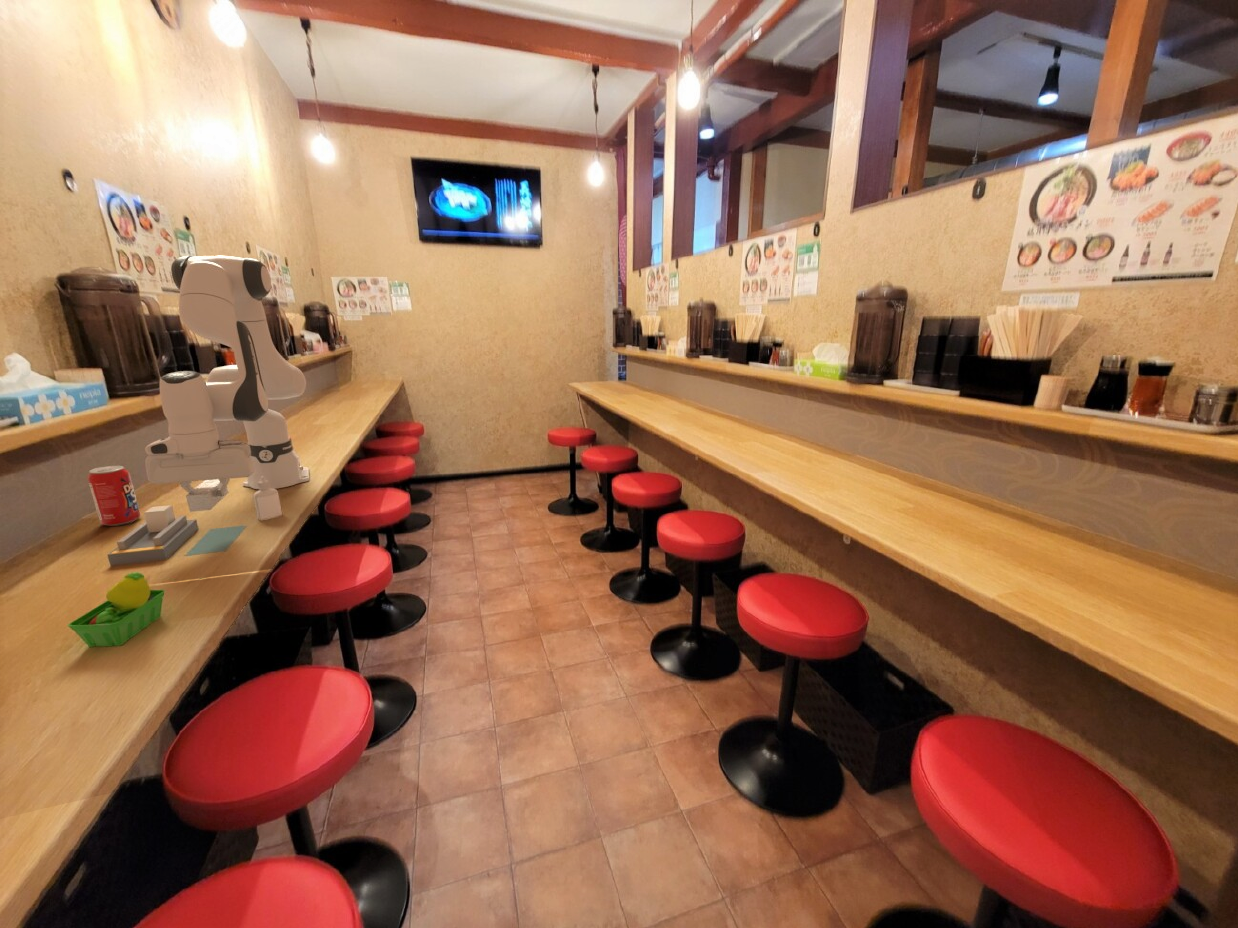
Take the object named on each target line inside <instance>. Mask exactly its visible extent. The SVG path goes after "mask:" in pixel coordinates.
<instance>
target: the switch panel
mask: <svg viewBox="0 0 1238 928" xmlns="http://www.w3.org/2000/svg"><path fill="white" fill-rule="evenodd" d="M197 531H199V524H198V520H197V519H196V518H195V519H187V516H186V515H179V516H178V517H177V518H175V520H174V521H173V522H172V523H171V524H170V525H168V526H167V527H166V528H165V529H163V530H162V531H160V532H150V533H149V531H148V527H147V524H146V520H145V521H143V522H142V523H141V524H139V525H138V526H137V527H135V528H134V529H132V530H131V531H130V532H129V533H126V535H125V536H123V537H122V538H121V539H118V541H117V542H116V543H117V547H116V548H115V549H113V550H112V551H111V552H109V553H107V559H108V561H109V565H110V567H114V566H124V565H133V564H140V563H149V562H157V561H166V560H168V559H169V558H170V557H171V556H172V555H174V553H175V552H177V550H179V548H181V546H182V545H183V544H185V542H186V541H188V540H189V539H190V538H191V537H192V536H193V535H194V534H195V533H196V532H197Z"/></svg>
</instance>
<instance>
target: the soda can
mask: <svg viewBox="0 0 1238 928" xmlns="http://www.w3.org/2000/svg"><path fill="white" fill-rule="evenodd" d="M88 472H89V475H88V476H87V482H88V486H89V488H90V493H91V496H92V499H93V501H94V502H93V503H94V506H95V509H96V513H97V516H98V518H99V522H100V524H101V525H104V526H109V527H119V526H124V525H128V524H131V523H134V522H135V521H137V520H138V519H140V517H142V516H141V511H140V507H139V504H138V500H137V499H138V498H137V497H136V493H135V488H134V484H133V481H132V476H131V473H130V471H129V470H127V469H126V468H125V466H122V465H108V466H101V467H96V468H93V469H91V470H89V471H88Z"/></svg>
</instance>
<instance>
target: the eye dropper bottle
mask: <svg viewBox="0 0 1238 928" xmlns="http://www.w3.org/2000/svg"><path fill="white" fill-rule="evenodd" d="M258 485H259V489H258V490H256V491H255V492H254V493H253V495H252V497H253V502H254V506H255V509H254V510H255V513H256V518H257V520H259V521H267V520H272V519H275V518H278V517H281V516H283V512H282V507H281V506H282V505H281V501H280V494H279V491H278V490H277V488H276V489H273V488H270V485H269V481H268V480H265V478H264V477H261V481H259V482H258Z"/></svg>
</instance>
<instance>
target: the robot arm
mask: <svg viewBox="0 0 1238 928" xmlns="http://www.w3.org/2000/svg"><path fill="white" fill-rule="evenodd" d="M171 263H172V264H171V266H170V267H171V268H170V269H171V270H170V272H171V276H172V280H173V283H174V285H175V286H176V289H178V290H179V297H178V298H179V299H178V313H179V317H180V320H181V322H182V323H183V325H184V326H185V327H186V328H187V329H188V330H189V331H191V332H192V333H193V334H195V335H197V336H199V337H201V338H203V339H205V340H208V341H210V342H211V341H212V342H214V343H217V344H221V345H224V346H227V347H229V348H231V349H232V350H233V354H234V358H235V362H236V364H229V365H224V366H218V367H217V366H216V367H214V368H213V369H212V370H211V371H210V372H209V374H208V376H207V381H205V380H204V377H203V375H202V374H201V373H200V372H197V371H192V370H183V371H182V370H180V371H175V372H170V373H166V374H164V375H163V376H161V377H160V379H159V395H160V402H161V403H160V404H161V408H162V411H163V415H164V416H165V418H166V420H167V422H168V429H167V430H168V431H167V433H168V436H166V437H163V438H160V439H158V440H155V441H153V442H150V443H149V444H147V446H145V447H144V451H145V454H147V455H148V456H147V457H146V458H145V461H144V464H145V473H146V478H147V480H148V481H149V482H150V483H151V484H152V485H159V484H161V485H162V484H171V483H173V484H175V483H176V484H177V483H180V484H179V485H180V487H181V488H182V489H183V490H184V491H186V492H187V493H188V494H189V493H190V492H191V491H192V490H194V489H195V488H194V487H193V486H192V485H191V484H192V483H193V482H201V481H203V482H204V481H205V480H217V479H219V481H220V483H223V484H222V486H221V488H218V489H217V490H216V493H217V496H218V497H219V496H225V497H226V496H227V495H228V494H227V491H226V487H227V488H228V484H229V482H230V479H242V478H246V480H245V481H243V482H242V486H243V487H247V488H252V489H254V490H260V489H259V485H258V482H259V481H261V477H264V478H265V480H268V481H269V485H270V488H273V489H276V490H277V489H282V488H287V487H290V486H294V485H298V484H300V483H304V482H305V483H306V482H308V481H310V469H309V467H307V466H302V464H301V459H300V458H301V457H300V456H299V454H297V453H296V452H295V451H294V446H293V441H292V437H290V436H289V429H288V424H287V419H286V417H284V415H283V414H282V413H280V412H278V411H276V410H273V409H270V408H269V400H272V401H273V400H287V399H292V398H296V397H300V396H301V397H302V395H303V394H304V392H305V390H306V387H307V380H306V376H305V375H304V373H303V372H302V370H301V369H300V368H298V366H295V365H294V364H292V363H290V362H289V361H287V360H286V359H285V358H284V357H283V356H282V355H281V353H279V351H278V350H277V349H276V346H275V345H274V342H273V340H272V336H271V333H270V329H269V325H268V320H267V315H266V311H265V309H264V305H263V302H262V300H263V298H266V297H267V296H268V294H270V292H271V288H272V287H271V286H272V278H271V275H270V272H269V270H268V268H267V266H266V265H265V264H264V263H263V262H261V261H260V260H258V259H255V258H248V257H244V258H243V257H237V256H228V255H215V256H214V255H203V256H200V255H199V256H198V255H197V256H193V255H186V256H179V257H177V258H175V260H173V261H172V262H171ZM219 421H220V422H221V421H222V422H223V421H225V422H226V421H238V422H239V421H240V422H241V421H242V423H243V426H244V430H245V433H246V437H247V441H244V440H243V441H242V440H241V439H234V440H227V439H226V440H221V439H220V435H219V430H218V426H217V424H216V423H215V422H219Z"/></svg>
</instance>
